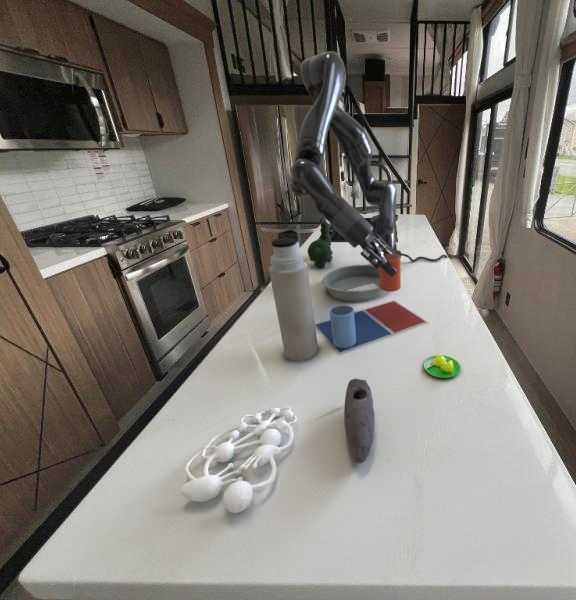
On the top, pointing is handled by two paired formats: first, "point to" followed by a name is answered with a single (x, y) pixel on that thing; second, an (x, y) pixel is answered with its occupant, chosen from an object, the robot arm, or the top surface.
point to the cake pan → (353, 282)
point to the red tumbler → (387, 281)
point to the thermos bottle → (293, 300)
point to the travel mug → (290, 236)
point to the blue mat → (358, 330)
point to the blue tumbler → (343, 326)
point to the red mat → (395, 316)
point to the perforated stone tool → (359, 419)
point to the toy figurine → (321, 246)
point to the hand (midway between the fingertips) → (396, 270)
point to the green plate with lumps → (443, 366)
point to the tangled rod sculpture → (240, 491)
